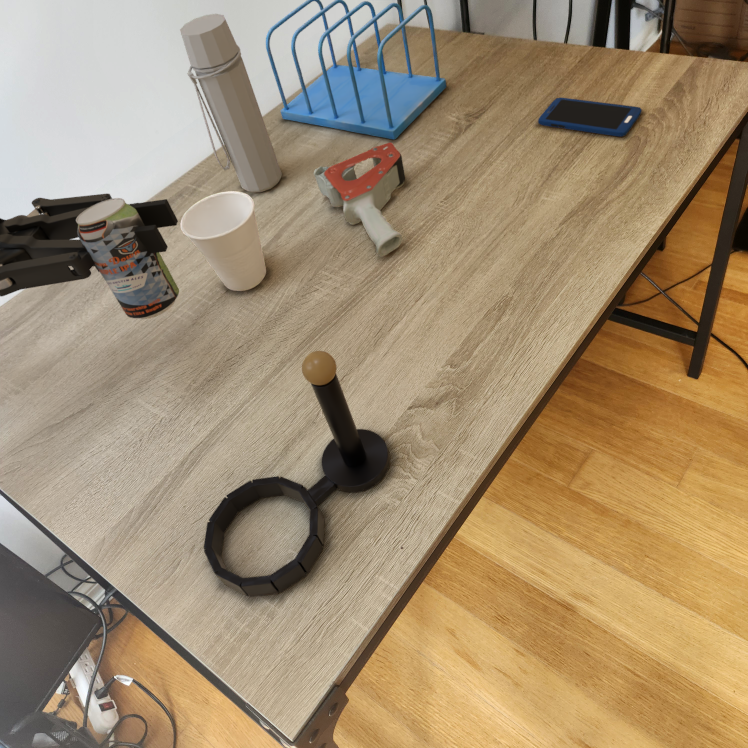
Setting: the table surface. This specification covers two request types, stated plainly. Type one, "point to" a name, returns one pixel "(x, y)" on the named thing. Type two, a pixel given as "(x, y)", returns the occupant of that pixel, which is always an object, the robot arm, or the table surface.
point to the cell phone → (590, 116)
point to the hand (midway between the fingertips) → (165, 225)
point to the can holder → (342, 471)
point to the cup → (227, 238)
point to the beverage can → (126, 259)
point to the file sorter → (360, 82)
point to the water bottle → (230, 102)
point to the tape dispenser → (366, 192)
